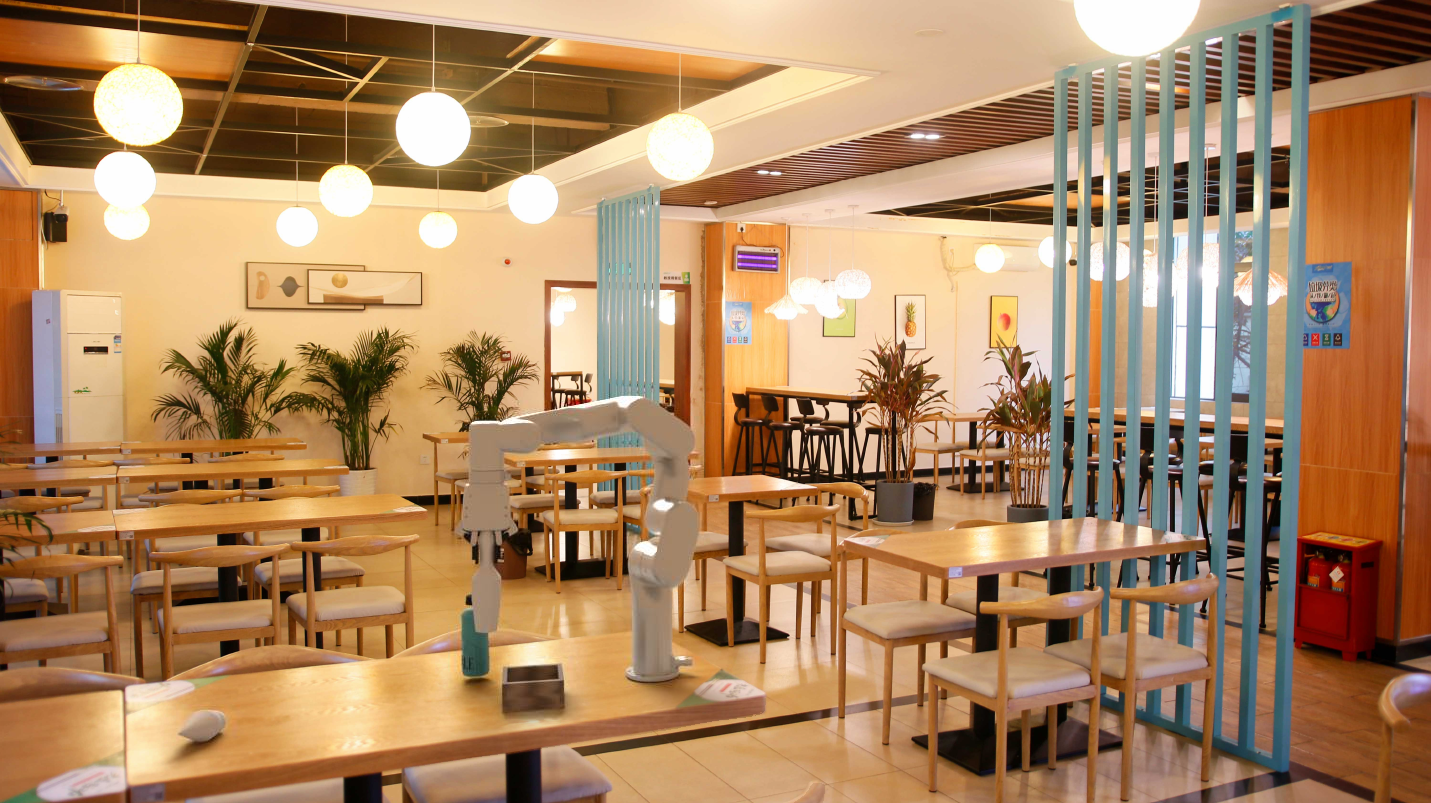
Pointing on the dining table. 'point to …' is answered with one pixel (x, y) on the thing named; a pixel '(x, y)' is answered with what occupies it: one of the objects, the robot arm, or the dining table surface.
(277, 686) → the dining table surface
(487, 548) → the low poly bottle
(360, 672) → the dining table surface
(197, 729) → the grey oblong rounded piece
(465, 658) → the beverage bottle
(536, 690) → the walnut box
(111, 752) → the dining table surface
